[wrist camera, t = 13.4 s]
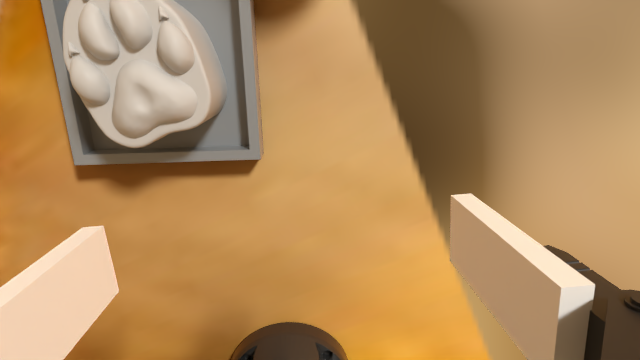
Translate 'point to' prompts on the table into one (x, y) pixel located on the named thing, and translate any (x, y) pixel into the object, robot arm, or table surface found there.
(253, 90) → the charcoal tray
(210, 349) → the table surface
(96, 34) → the lumpy-topped squat cylinder
